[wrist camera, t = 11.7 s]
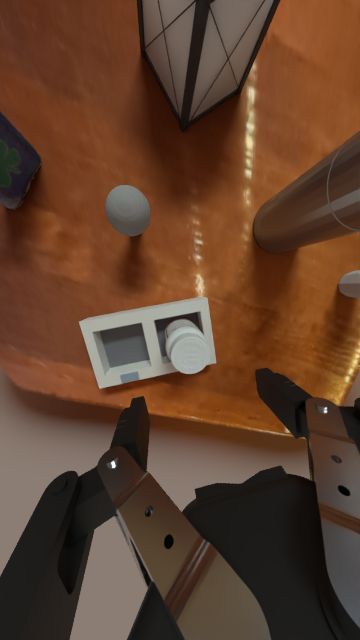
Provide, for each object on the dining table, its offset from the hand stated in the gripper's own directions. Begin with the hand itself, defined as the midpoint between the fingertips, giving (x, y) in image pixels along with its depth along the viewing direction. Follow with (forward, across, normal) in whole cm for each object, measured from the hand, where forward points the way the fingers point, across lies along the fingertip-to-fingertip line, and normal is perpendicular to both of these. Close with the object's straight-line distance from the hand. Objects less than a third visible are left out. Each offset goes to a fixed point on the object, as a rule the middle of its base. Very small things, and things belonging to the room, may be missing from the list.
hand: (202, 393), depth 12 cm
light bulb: (+22, +4, -17) cm, 28 cm away
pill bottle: (+22, 0, +2) cm, 22 cm away
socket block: (+22, +5, +2) cm, 22 cm away
